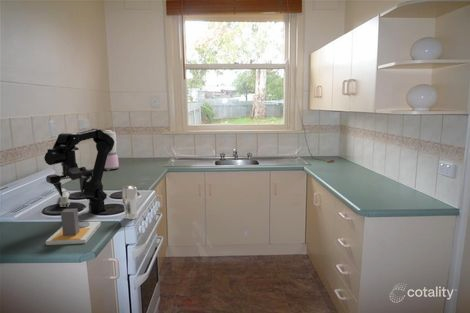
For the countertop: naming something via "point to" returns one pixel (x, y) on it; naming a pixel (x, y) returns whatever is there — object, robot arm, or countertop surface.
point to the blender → (112, 153)
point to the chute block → (70, 222)
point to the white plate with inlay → (82, 237)
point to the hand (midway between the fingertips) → (72, 194)
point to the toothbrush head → (64, 199)
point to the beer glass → (130, 201)
